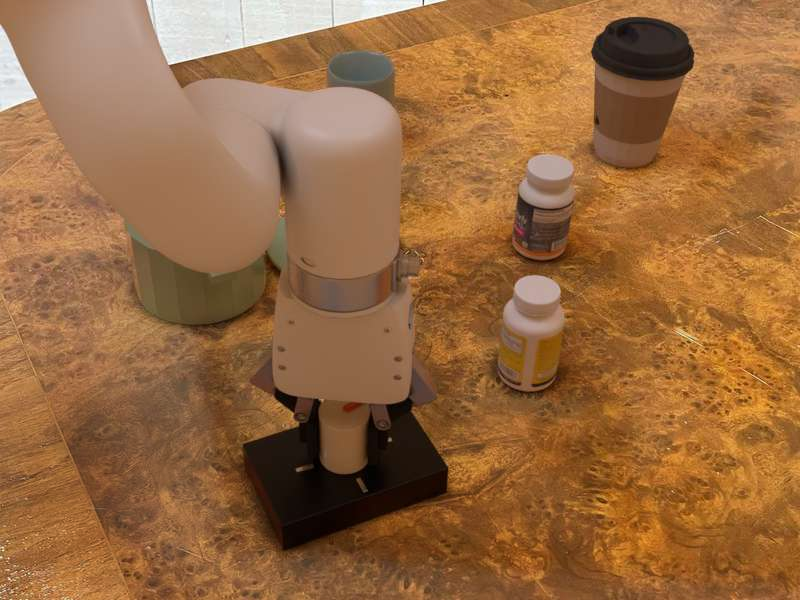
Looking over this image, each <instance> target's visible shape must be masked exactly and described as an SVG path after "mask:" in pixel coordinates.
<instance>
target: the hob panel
mask: <svg viewBox="0 0 800 600" xmlns="http://www.w3.org/2000/svg"><path fill="white" fill-rule="evenodd" d="M368 405H369V403H368ZM369 407H370V405H369ZM370 415H371V409H370ZM241 445H242V455H243V463H244V466H243V467H244V470H245V472H246V475H247V477H248V479H249V480H250V483H251V485H252V487H253V489H254V491H255V493H256V495H257V498H258V500H259V502H260V504H261V506H262V509H263V511H264V513H265V515H266V517H267V519H268V521H269V523H270V525H271V528H272V530H273V533H274V535H275V537H276V539H277V540H278V543H279V544H280V547H281V549H282V551H288V550H290V549H292V548H295V547H298V546H300V545H304V544H306V543H309V542H312V541H314V540H317V539H320V538H323V537H326V536H329V535H332V534H334V533H337V532H340V531H343V530H345V529H348V528H351V527H353V526H357V525H359V524H363V523H365V522H368V521H371V520H373V519H376V518H379V517H382V516H385V515H387V514H390V513H393V512H397V511H398V510H402V509H404V508H408V507H410V506H413V505H415V504H418V503H421V502H424V501H426V500H429V499H432V498H435V497H438V496H440V495H443V494H446V493H447V490H448V480H449V467H448V464H447V463H446V462H445V460H444V459H443V457H442V456H441V454H440V452H439V451H438V450H437V447H435V445H434V443H433V442H432V441H431V439H430V437H429V436H428V434H427V433H426V431H425V430H424V429H423V427H422V425H421V424H420V422H419V421H418V419H417V417H416V416H415V415H414V413H413V412H412V410H411V411H410V412H408V413H407V414H405V415H403V416H401V417H400V418H398V419H396V420H395V421H393V422H391V426H390V428H389V438H388V447H387V451H386V450H379V453H378V460H377V465H370V463H367V464H366V466H365V467H364V468H362V469H361V470H359V471H357V472H355V473H351V474H337V473H334V472H331V471H329V470H328V469H326V468H325V467H324V466H323V464H322V463H321V461H320V456H319V451H318V455H317V458H315V459H314V460H311V459H307V443H300V436H299V425H298V426H295V427H292V428H288V429H285V430H281V431H278V432H275V433H272V434H269V435H265V436H264V437H263V436H262V437H259V438H257V439H253V440H250V441H247V442H244V443H242V444H241Z"/></svg>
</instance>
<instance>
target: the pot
mask: <svg viewBox="0 0 800 600" xmlns="http://www.w3.org/2000/svg"><path fill="white" fill-rule="evenodd" d="M123 225H124V230H125V237H126V241H127V248H128V255H129V260H130V266H131V271H132V277H133V278H132V279H133V283H134V284H133V285H134V289H135V291H136V293H137V296H138V297H137V298H138V300H139V302H140V303H141V305H142V306H143V307H144V308H145V310H147V311H148V312H149V313H150V314H152V315H154V316H155V317H157V318H159V319H162V320H163V321H167V322H170V323H175V324H179V325H190V326H202V325H210V324H211V325H212V324H216V323H221V322H224V321H227V320H230V319H233V318H235V317H237V316H239V315H241V314H243V313H244V312H246V311H248V310H249V309H251V308H252V307H253V306H254V305H255V304H256V303H257V302H258V301H259V300H260V298H261V297H262V295H263V293H264V291H265V289H266V285H267V258H266V251H265V252H264V253H263V254H262V255H261V256H260V258H259V259H257V260H256V261H255V262H253V263H252V264H250V265H249V266H247V267H245V268H242V269H240V270H238V271H234V272H229V273H219V274H210V273H204V272H198V271H195V270H192V269H189V268H186V267H184V266H182V265H180V264H178V263H176V262H174V261H172V260H171V259H169V258H168V257H166V256H165V255H163V254H162V253H160V252H159V251H158V250H156V249H155V248H154V247H153V246H152V245H150V244H149V243H148V242H147V241H146V240H145V239H144V238H142V237H141V236H140V235H139V234H138V233H137V232H136V231H135V230H134V229H133V228H132V227H131V226H130V225H129V224H128V223H127V222H126V221H125V220H124V219H123Z"/></svg>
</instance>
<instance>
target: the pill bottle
mask: <svg viewBox="0 0 800 600" xmlns="http://www.w3.org/2000/svg"><path fill="white" fill-rule="evenodd" d="M525 170H526V171H525V177H524V178H523V179H522V180H521V182H520V184H519V186H518V189H517V190H518V191H517V199H516V206H515V213H514V214H515V215H514V221H513V228H512V236H511V237H512V238H511V240H512V241H511V242H512V245H513V247H514V249H515V251H517V252H518V253H519V254H520V255H521V256H523V257H525V258H527V259H531V260H535V261H548V260H549V261H550V260H553V259H556V258H558V257H560V256H561V255H562V254H563V253H564V251H565V250H566V249H567V244H568V239H569V233H570V227H571V222H572V216H573V211H574V204H575V197H576V191H575V187H574V184H573V183H572V182H573V181H574V175H575V167H574V165H573V163H572V162H571V161H570V160H569V159H567V158H566V157H564V156H561V155H557V154H552V153H543V154H538V155H534V156H533V157H531V158H530V159H529V160H528V162H527V163H526V169H525Z"/></svg>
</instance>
